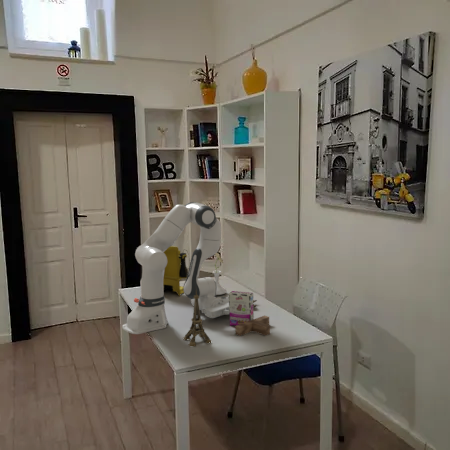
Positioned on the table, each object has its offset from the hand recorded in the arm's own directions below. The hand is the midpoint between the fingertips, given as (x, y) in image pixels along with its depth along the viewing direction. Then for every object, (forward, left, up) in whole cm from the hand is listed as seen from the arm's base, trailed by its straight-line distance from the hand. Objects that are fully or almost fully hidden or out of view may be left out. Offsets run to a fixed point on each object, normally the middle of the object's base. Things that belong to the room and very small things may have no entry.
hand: (233, 312), depth 224 cm
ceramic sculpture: (+20, +13, -5) cm, 25 cm away
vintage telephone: (+11, +63, -5) cm, 64 cm away
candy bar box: (0, -6, -5) cm, 8 cm away
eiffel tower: (-27, -5, -5) cm, 28 cm away
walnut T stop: (0, -17, -5) cm, 18 cm away
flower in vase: (+27, +42, -5) cm, 50 cm away
